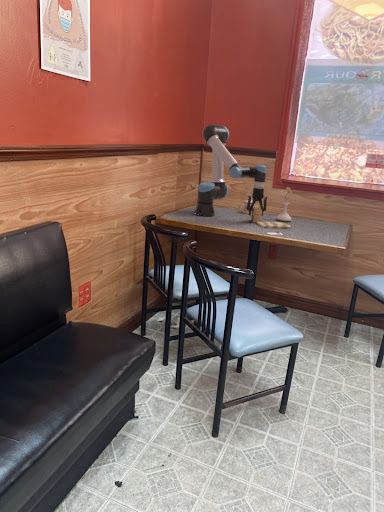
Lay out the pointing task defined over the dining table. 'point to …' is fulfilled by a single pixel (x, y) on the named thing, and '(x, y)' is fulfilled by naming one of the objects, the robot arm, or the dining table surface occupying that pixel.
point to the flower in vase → (285, 209)
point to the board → (273, 225)
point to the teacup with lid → (246, 206)
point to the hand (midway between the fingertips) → (255, 220)
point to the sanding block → (256, 214)
